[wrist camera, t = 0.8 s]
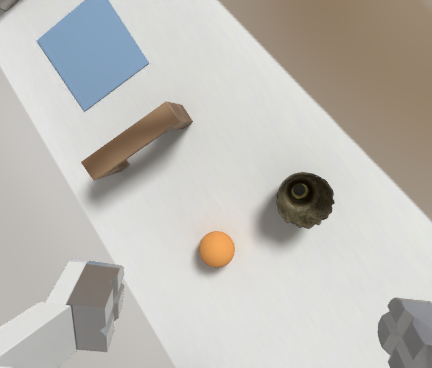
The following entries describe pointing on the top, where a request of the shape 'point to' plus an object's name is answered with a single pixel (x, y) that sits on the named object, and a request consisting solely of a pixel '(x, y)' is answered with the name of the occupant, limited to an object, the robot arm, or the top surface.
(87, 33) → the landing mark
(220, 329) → the top surface
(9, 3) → the wall
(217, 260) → the ball
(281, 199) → the cup
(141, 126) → the bridge
